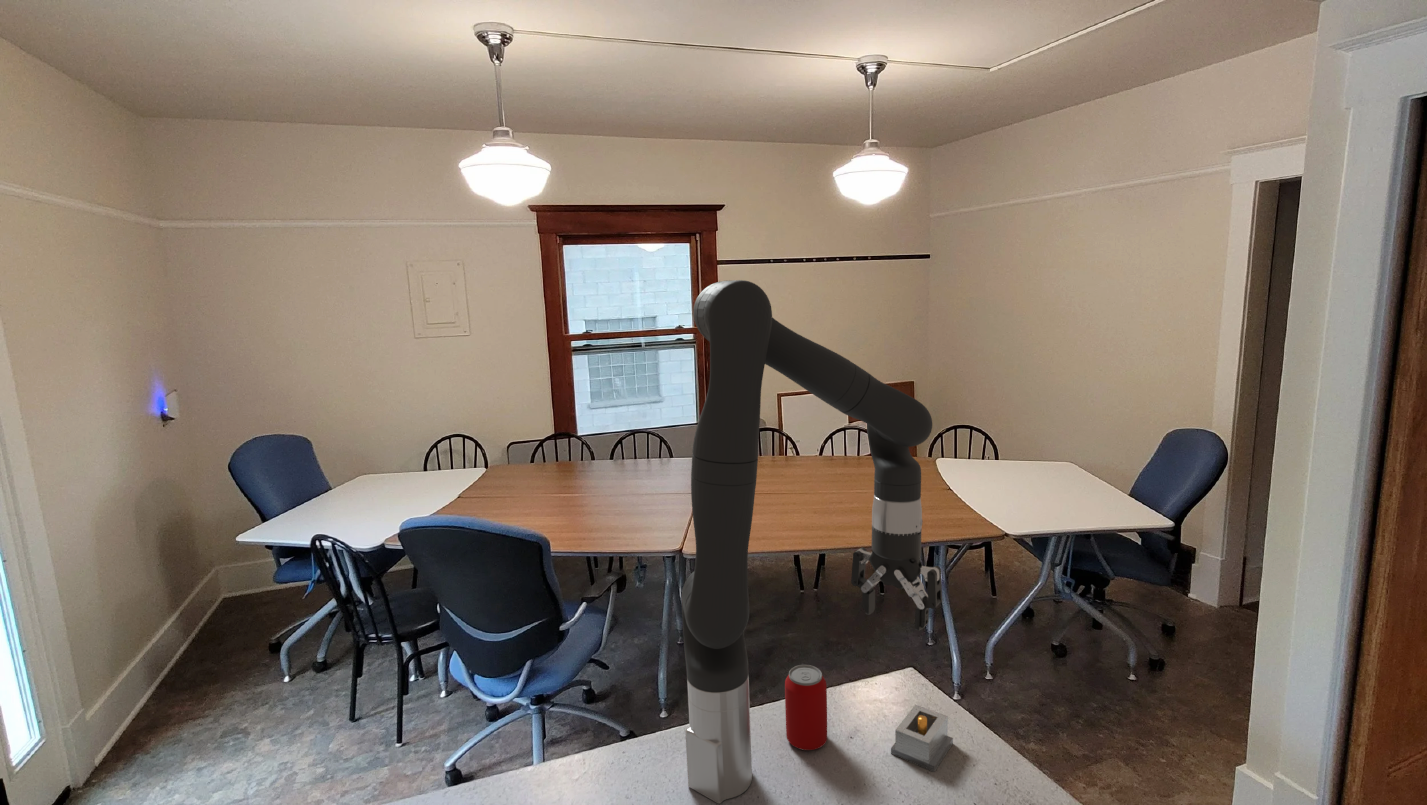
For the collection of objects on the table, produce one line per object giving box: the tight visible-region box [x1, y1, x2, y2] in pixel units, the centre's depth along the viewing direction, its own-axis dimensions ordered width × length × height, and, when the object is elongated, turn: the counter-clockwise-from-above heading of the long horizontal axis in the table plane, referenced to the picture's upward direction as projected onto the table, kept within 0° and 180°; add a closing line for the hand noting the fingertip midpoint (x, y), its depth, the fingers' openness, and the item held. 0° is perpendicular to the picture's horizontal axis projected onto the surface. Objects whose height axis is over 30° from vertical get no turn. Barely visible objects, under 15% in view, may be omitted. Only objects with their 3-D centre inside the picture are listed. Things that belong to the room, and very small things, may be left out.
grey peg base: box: [890, 715, 954, 773], centre depth 107 cm, size 8×7×5 cm
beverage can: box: [784, 664, 828, 751], centre depth 109 cm, size 7×7×12 cm
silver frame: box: [894, 704, 949, 764], centre depth 107 cm, size 8×5×4 cm
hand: (894, 620), depth 107 cm, fingers open, 8 cm apart
